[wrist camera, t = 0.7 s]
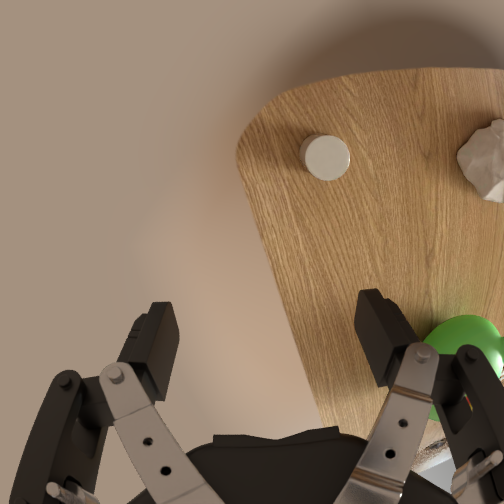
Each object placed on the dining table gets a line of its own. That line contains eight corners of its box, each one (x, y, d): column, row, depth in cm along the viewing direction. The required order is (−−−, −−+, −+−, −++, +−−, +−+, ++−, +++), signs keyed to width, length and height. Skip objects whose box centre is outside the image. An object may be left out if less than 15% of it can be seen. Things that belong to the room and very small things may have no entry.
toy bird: (397, 318, 35) (443, 402, 21) (486, 278, 32) (542, 337, 19) (394, 388, 42) (420, 455, 29) (469, 354, 40) (503, 409, 27)
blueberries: (442, 444, 62) (443, 448, 60) (422, 452, 63) (423, 457, 61) (448, 435, 59) (450, 440, 57) (427, 444, 60) (429, 449, 58)
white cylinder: (293, 140, 25) (298, 143, 22) (332, 128, 24) (342, 129, 22) (306, 179, 27) (313, 186, 24) (344, 167, 26) (355, 173, 23)
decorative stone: (519, 119, 22) (443, 120, 25) (536, 119, 18) (460, 118, 21) (527, 195, 25) (455, 210, 28) (544, 201, 22) (472, 217, 24)
